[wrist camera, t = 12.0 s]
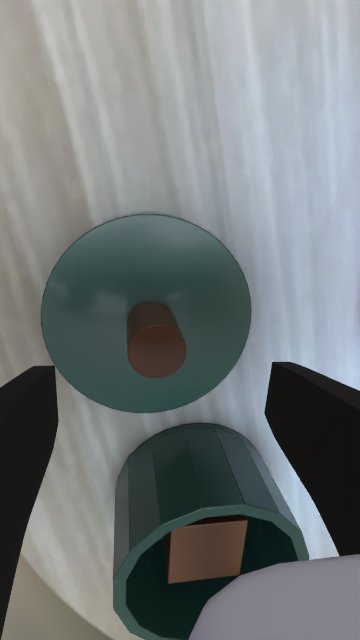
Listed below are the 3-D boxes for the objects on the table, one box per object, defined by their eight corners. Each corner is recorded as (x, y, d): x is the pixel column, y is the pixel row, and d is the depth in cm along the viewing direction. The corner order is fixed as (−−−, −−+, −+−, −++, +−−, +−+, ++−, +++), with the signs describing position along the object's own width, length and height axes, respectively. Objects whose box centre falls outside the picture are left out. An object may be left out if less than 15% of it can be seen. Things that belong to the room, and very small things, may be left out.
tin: (116, 548, 23) (113, 661, 17) (115, 427, 20) (112, 516, 14) (253, 534, 24) (291, 633, 19) (272, 419, 21) (324, 497, 16)
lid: (52, 406, 19) (31, 466, 15) (37, 207, 15) (4, 209, 11) (234, 400, 20) (263, 451, 16) (256, 219, 17) (299, 224, 13)
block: (160, 519, 22) (167, 584, 18) (162, 468, 21) (171, 528, 17) (220, 513, 23) (239, 575, 19) (226, 464, 21) (248, 520, 18)
